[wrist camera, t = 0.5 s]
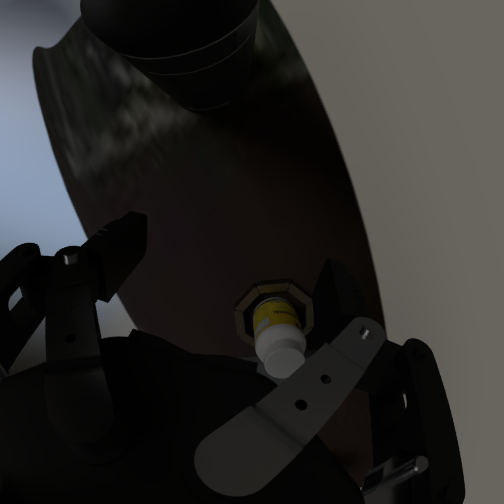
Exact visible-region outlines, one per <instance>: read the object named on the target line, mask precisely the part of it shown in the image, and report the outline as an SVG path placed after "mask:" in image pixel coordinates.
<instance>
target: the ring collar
mask: <svg viewBox="0 0 504 504" xmlns="http://www.w3.org/2000/svg"><path fill="white" fill-rule="evenodd" d="M279 291H288V292H289V293H291V294H292V295H293V296H295V297H296V298H297V299H299V300H300V301H301V302H303V303H304V322H303V323H302V324H301V327H302V330H303V333H304V336H306V335H307V334H308V333H309V332H310V331H311V330H312V327H314V313H313V302H312V297H311V296H310V295H309V294H308V293H307V292H305V291H304V290H303V289H302V288H300V287H299V286H298V285H296V284H295V283H294V282H293V281H291V280H289V281H288V280H287V279H278V280H268V281H258V282H257V285H256V284H255V283H254V284H253V285H252V286H251V287H250V288H249V289H248V290H247V291H246V292H245V294H244V295H243V296H242V297H241V298H240V299H239V300H238V301H237V302H236V303H235V306H234V313H235V321H236V328H237V335H239V338H241V339H242V340H244V341H245V342H247V343H248V344H250V345H252V346H253V347H255V337H254V334H253V333H252V332H250V331H249V330H247V329H246V328H245V322H244V314H243V311H244V310H245V309H246V308H247V307H248V306H249V305H250V304H251V303H252V302H253V300H254V299H255V298H256V297H257V296H258V295H259V294H260V293H270V292H279Z"/></svg>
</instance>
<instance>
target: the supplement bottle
mask: <svg viewBox="0 0 504 504" xmlns="http://www.w3.org/2000/svg"><path fill="white" fill-rule="evenodd" d="M253 325H254V337H255V348H256V353H257V356H258V357H259V359H260V360H261V361H262V362H263V363H264V367H265V370H266V372H267V373H268V374H269V375H271V376H273V377H275V378H288V377H289V376H290V375H291V374H292V373H294V372H295V371H296V370H297V369H298V368H299V367H300V366H301V365H303V364H304V363H305V357H304V352H305V349H306V339H305V336H304V333H303V330H302V327H301V324H300V322H299V319H298V316H297V313H296V311H295V308H294V307H293V305H292V304H291V303H290V302H289V301H287V300H286V299H283V298H278V297H273V298H268V299H266V300H264V301H262V302H261V303H260V304H259V305H258V306H257V307H256V309H255V311H254V314H253Z"/></svg>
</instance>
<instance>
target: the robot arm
mask: <svg viewBox="0 0 504 504" xmlns="http://www.w3.org/2000/svg"><path fill="white" fill-rule="evenodd" d="M259 2H260V0H81V2H80V10H81V15H82V18H83V20H84V23H85V24H86V26H87V27H88V29H89V30H90V31H91V32H92V33H93V34H94V35H95V36H96V37H97V38H99V39H100V40H101V41H102V42H104V43H105V44H106V45H107V46H109V47H110V48H111V49H113V50H114V51H115V52H116V53H118V54H119V55H120V56H121V57H123V58H124V59H125V60H126V61H128V62H129V63H130V64H132V65H133V66H134V67H135V68H137V69H138V70H139V71H140V72H141V73H143V74H144V75H145V76H146V77H147V78H148V79H150V80H151V81H152V82H153V83H154V84H155V85H157V86H158V87H159V88H160V89H161V90H162V91H164V92H165V93H166V94H167V95H168V96H169V97H170V98H171V99H173V100H174V101H175V102H176V103H177V104H178V105H180V106H181V107H183V108H185V109H187V110H190V111H192V112H198V113H211V112H216V111H220V110H222V109H225V108H227V107H229V106H230V105H232V104H233V103H235V102H236V101H237V100H238V99H239V98H240V97H241V96H242V95H243V93H244V92H245V90H246V89H247V86H248V83H249V80H250V73H251V67H252V58H253V50H254V42H255V35H256V27H257V19H258V10H259ZM146 246H147V216H146V215H145V214H142V213H137V212H133V211H130V212H128V213H127V214H126V215H125V216H123V217H122V218H121V219H117V220H115V221H112V222H110V223H108V224H107V225H105V226H104V227H103V228H102V230H101V229H100V230H99V231H98V232H97V234H94V235H93V236H92V237H91V238H90V239H89V240H87V241H86V242H85V243H84V244H83V245H82V246H81V247H80V246H68V247H64V248H62V249H60V250H59V251H57V253H56V254H55V255H54V256H42V255H41V253H40V248H39V246H38V245H37V244H35V243H24V244H21V245H19V246H17V247H15V248H14V249H13V250H12V251H11V252H10V253H8V254H7V255H6V256H5V257H4V258H3V259H2V260H1V261H0V504H463V501H464V498H465V483H464V475H463V469H462V462H461V457H460V451H459V446H458V440H457V436H456V431H455V427H454V422H453V418H452V414H451V410H450V406H449V403H448V399H447V396H446V392H445V389H444V385H443V382H442V379H441V376H440V373H439V370H438V366H437V363H436V360H435V358H434V355H433V352H432V350H431V349H430V348H429V346H428V345H427V344H425V343H424V342H423V341H421V340H418V339H414V338H411V339H408V340H407V341H406V342H405V343H404V345H403V346H401V345H398V344H396V343H393V342H391V341H389V340H387V339H386V334H385V331H384V330H383V328H382V327H381V326H380V325H379V324H378V323H377V322H376V321H374V320H372V319H370V316H369V312H368V309H367V306H366V303H365V300H364V297H363V294H362V291H361V288H360V285H359V283H358V282H357V280H356V279H355V278H354V277H353V276H351V275H348V272H347V269H346V265H345V263H344V262H341V261H337V260H333V259H329V258H328V259H327V260H326V261H325V264H324V266H323V269H322V271H321V273H320V276H319V278H318V281H317V283H316V286H315V288H314V292H313V298H312V302H313V313H314V325H315V338H316V352H315V353H314V354H313V355H312V356H311V357H310V358H309V359H308V360H307V361H306V362H305V363H304V364H303V365H301V366H300V367H299V368H298V369H297V370H296V371H295V372H294V373H292V374H291V375H290V376H289V377H288V378H287V379H286V380H284V381H283V382H282V383H281V384H280V385H277V384H276V383H275V382H274V381H272V380H271V379H269V378H268V377H266V376H264V375H262V374H260V373H258V372H257V366H258V362H253V361H248V360H244V359H239V358H235V357H230V356H226V355H204V354H192V353H189V352H187V351H185V350H183V349H181V348H179V347H177V346H175V345H174V344H172V343H170V342H168V341H166V340H164V339H163V338H160V337H157V336H154V335H151V334H148V333H145V332H142V331H139V330H136V329H132V331H131V333H130V334H129V336H128V337H118V336H117V337H108V338H103V339H102V338H101V333H100V328H99V322H98V317H97V311H96V306H95V303H96V302H97V300H101V301H104V302H107V303H108V302H109V301H110V300H111V298H112V297H113V296H114V294H115V293H116V292H117V290H118V289H119V288H120V286H121V285H122V284H123V283H124V281H125V280H126V279H127V277H128V276H129V275H130V274H131V272H132V271H133V270H134V269H135V267H136V266H137V265H138V264H139V262H140V261H141V260H142V259H143V257H144V255H145V252H146ZM19 287H20V289H21V293H22V296H23V297H22V298H21V299H20V300H19V301H18V302H17V304H16V305H15V306H14V307H13V308H12V310H11V311H9V308H8V302H9V299H10V297H11V296H12V294H13V293H14V292H15V291H16V290H17V289H18V288H19ZM44 318H45V343H46V362H44V363H42V364H39V365H37V366H34V367H31V368H29V369H26V370H24V371H21V372H19V373H16V374H14V375H11V376H9V369H10V367H11V366H12V364H13V363H14V361H15V359H16V358H17V356H18V355H19V353H20V352H21V350H22V349H23V347H24V346H25V344H26V343H27V341H28V340H29V338H30V337H31V335H32V334H33V333H34V331H35V330H36V329H37V327H38V326H39V324H40V323H41V322H42V320H43V319H44ZM8 376H9V377H8ZM354 387H355V388H358V389H360V390H363V391H365V392H368V394H369V404H370V415H371V427H372V443H373V469H371V470H370V471H369V472H368V474H367V475H366V477H365V480H364V485H363V487H362V490H360V488H359V486H358V485H357V484H356V482H355V481H354V480H353V479H352V477H351V476H350V475H349V474H348V473H347V471H346V470H345V469H344V468H343V467H342V465H341V464H340V463H339V462H338V460H337V459H336V458H335V457H334V455H333V454H332V453H331V452H330V450H329V449H328V448H327V447H326V445H325V444H324V443H323V442H322V440H321V439H320V438H319V436H318V435H317V434H316V433H317V432H318V431H319V430H320V429H321V427H322V426H323V425H324V424H325V423H326V422H327V420H328V419H329V418H330V417H331V416H332V415H333V413H334V412H335V411H336V410H337V408H338V407H339V406H340V405H341V403H342V402H343V401H344V400H345V398H346V397H347V396H348V394H349V393H350V392H351V390H352V389H353V388H354ZM404 394H405V395H406V400H407V407H406V408H405V402H404V397H403V395H404Z"/></svg>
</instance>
